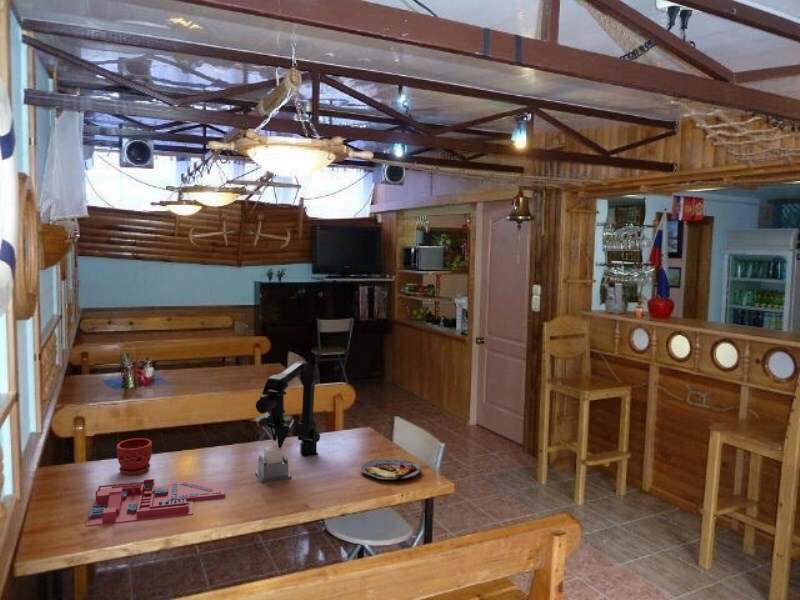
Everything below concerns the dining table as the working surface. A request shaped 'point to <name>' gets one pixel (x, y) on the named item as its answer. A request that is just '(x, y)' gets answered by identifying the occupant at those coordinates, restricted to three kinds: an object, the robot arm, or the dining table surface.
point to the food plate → (390, 469)
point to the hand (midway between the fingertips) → (277, 444)
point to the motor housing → (272, 470)
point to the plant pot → (134, 456)
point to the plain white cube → (272, 454)
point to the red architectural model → (148, 501)
